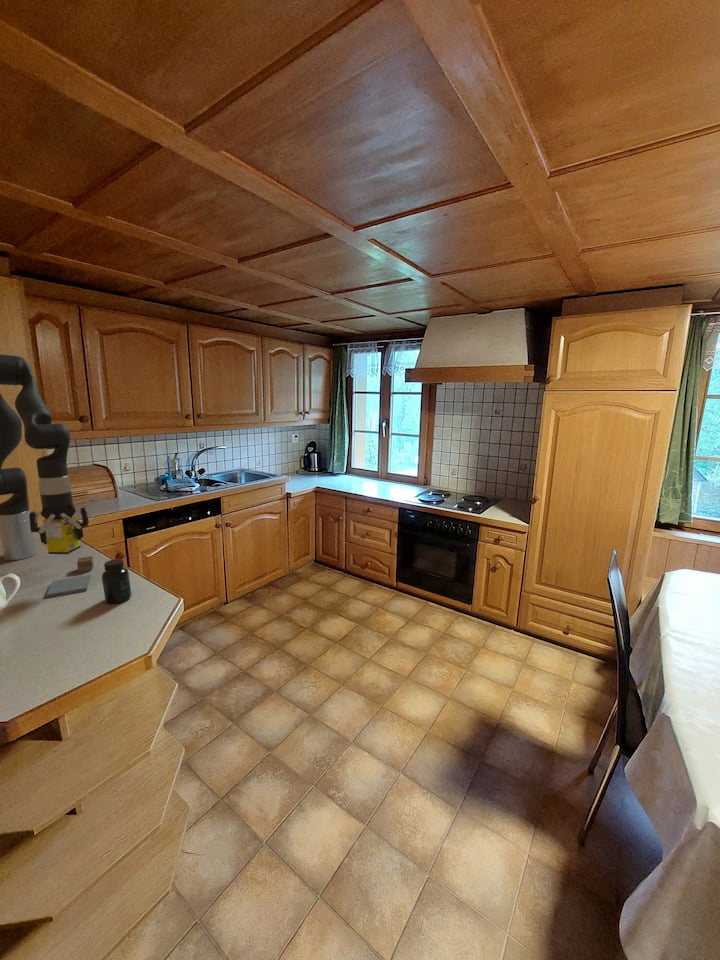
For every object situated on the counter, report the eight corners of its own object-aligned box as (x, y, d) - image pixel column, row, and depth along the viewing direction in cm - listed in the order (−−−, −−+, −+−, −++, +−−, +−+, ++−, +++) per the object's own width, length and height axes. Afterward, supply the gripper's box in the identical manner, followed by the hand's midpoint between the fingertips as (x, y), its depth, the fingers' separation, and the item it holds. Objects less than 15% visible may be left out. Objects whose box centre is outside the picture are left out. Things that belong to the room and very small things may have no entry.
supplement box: (81, 547, 125) (76, 514, 122) (67, 554, 119) (62, 520, 117) (62, 546, 125) (57, 514, 122) (47, 554, 119) (42, 520, 117)
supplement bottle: (127, 591, 123) (124, 555, 120) (134, 599, 118) (130, 562, 115) (102, 598, 118) (97, 561, 115) (108, 607, 113) (103, 569, 111)
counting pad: (53, 583, 126) (52, 580, 126) (90, 577, 131) (90, 574, 130) (46, 597, 117) (46, 594, 117) (86, 590, 122) (86, 587, 122)
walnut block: (80, 568, 137) (78, 557, 137) (93, 566, 139) (92, 556, 138) (78, 573, 134) (77, 562, 133) (92, 570, 136) (91, 560, 135)
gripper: (85, 486, 124) (92, 534, 127) (28, 490, 117) (36, 541, 121) (82, 491, 118) (89, 542, 121) (22, 495, 111) (30, 549, 114)
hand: (63, 541), depth 121 cm, fingers closed on supplement box, 8 cm apart
